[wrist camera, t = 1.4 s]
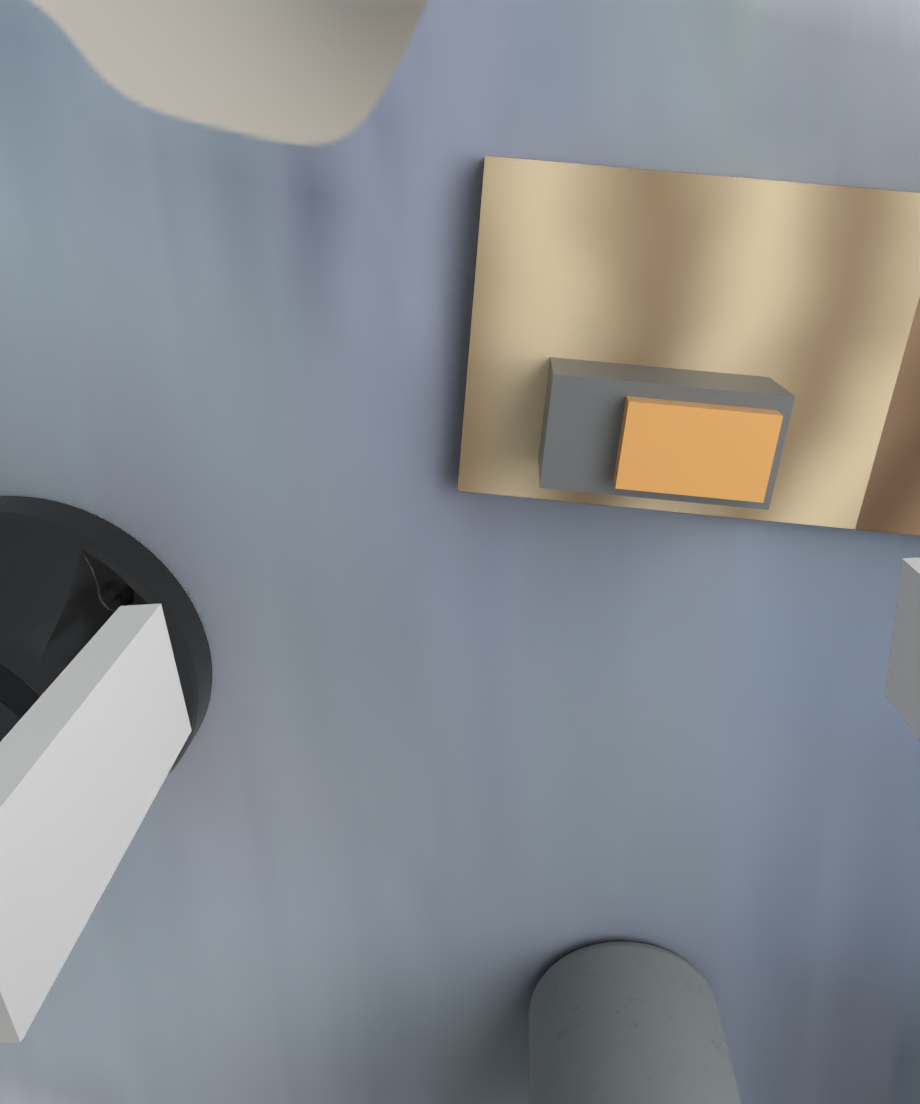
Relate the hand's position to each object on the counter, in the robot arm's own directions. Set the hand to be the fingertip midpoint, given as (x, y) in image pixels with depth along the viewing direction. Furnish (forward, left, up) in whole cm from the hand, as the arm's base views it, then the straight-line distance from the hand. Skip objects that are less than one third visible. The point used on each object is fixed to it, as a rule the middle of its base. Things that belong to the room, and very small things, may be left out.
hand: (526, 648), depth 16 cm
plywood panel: (+10, +3, -20) cm, 22 cm away
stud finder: (+5, 0, -18) cm, 19 cm away
